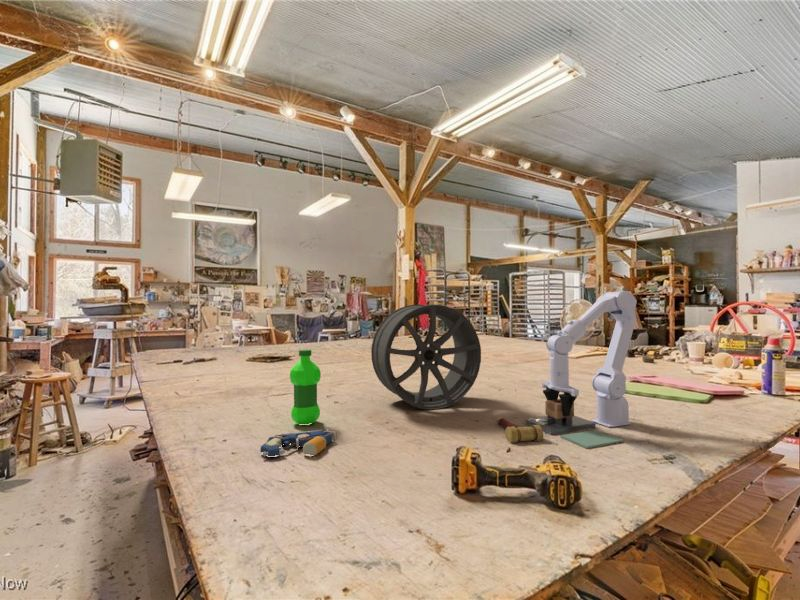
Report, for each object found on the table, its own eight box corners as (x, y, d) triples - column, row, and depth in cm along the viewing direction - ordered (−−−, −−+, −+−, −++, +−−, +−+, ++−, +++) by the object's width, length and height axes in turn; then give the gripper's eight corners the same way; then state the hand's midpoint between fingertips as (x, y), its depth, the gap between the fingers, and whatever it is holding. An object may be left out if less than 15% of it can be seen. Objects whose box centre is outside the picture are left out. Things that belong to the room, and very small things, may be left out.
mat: (596, 431, 126) (595, 429, 126) (623, 442, 117) (623, 439, 117) (560, 437, 121) (560, 435, 121) (586, 448, 112) (586, 446, 112)
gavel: (484, 414, 137) (511, 412, 139) (484, 427, 137) (512, 426, 138) (511, 429, 116) (543, 426, 118) (512, 445, 116) (544, 442, 118)
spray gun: (340, 455, 110) (333, 438, 124) (340, 439, 110) (333, 424, 124) (259, 467, 104) (261, 447, 118) (259, 450, 104) (261, 433, 118)
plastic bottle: (283, 426, 135) (283, 351, 135) (302, 417, 145) (302, 347, 145) (309, 429, 131) (308, 352, 131) (326, 420, 141) (326, 348, 141)
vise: (567, 417, 142) (567, 397, 142) (595, 427, 130) (595, 406, 130) (524, 424, 135) (523, 403, 135) (549, 435, 124) (549, 412, 124)
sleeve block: (562, 412, 136) (562, 398, 136) (574, 416, 132) (573, 402, 132) (545, 414, 134) (545, 400, 134) (556, 418, 129) (556, 404, 129)
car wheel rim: (385, 414, 148) (384, 305, 148) (371, 402, 166) (370, 304, 166) (481, 404, 160) (480, 304, 161) (458, 394, 179) (458, 303, 179)
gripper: (534, 369, 138) (534, 409, 138) (566, 376, 125) (566, 421, 124) (551, 368, 141) (551, 407, 141) (583, 375, 127) (584, 418, 127)
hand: (559, 413), depth 133 cm, fingers closed on sleeve block, 5 cm apart
